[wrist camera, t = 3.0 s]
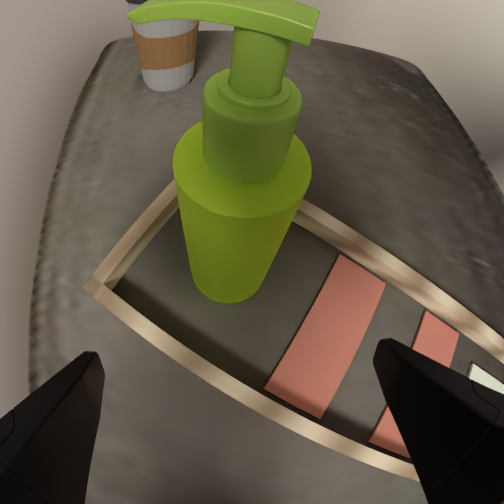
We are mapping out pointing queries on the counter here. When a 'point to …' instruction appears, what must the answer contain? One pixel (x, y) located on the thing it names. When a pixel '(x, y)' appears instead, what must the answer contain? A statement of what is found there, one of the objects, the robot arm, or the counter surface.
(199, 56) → the counter surface
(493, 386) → the pad
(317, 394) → the mats
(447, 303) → the frame
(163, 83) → the coffee cup
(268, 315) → the counter surface
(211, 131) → the soap dispenser
